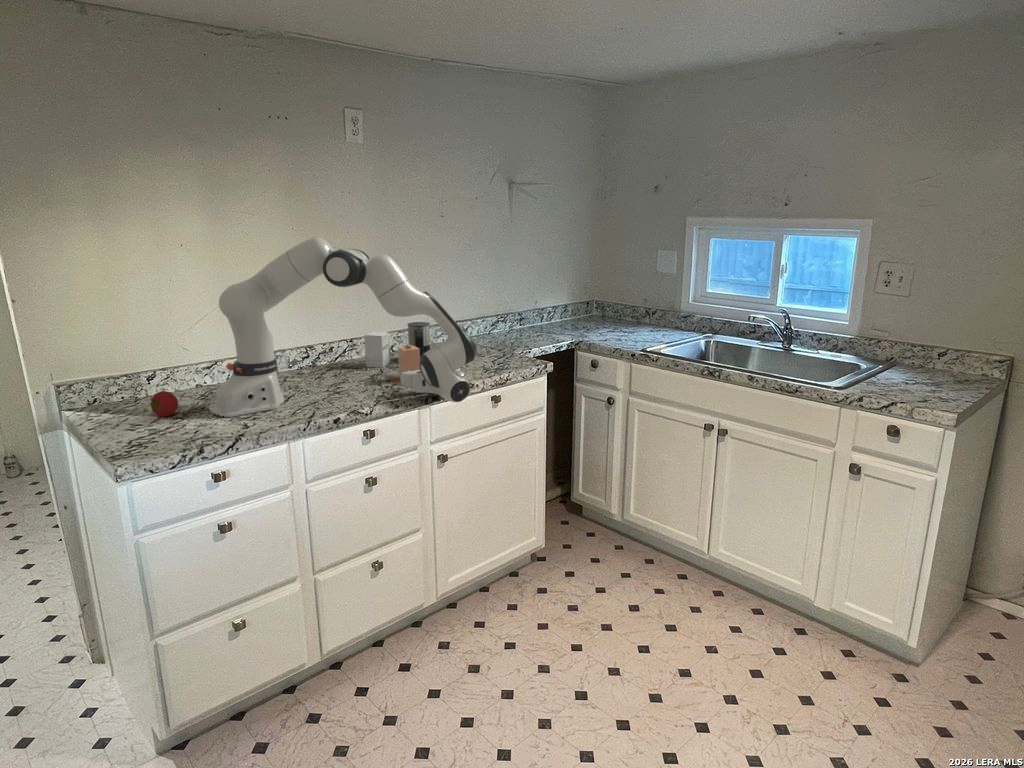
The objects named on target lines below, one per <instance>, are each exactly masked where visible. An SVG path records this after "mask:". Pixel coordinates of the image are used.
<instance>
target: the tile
mask: <svg viewBox="0 0 1024 768" xmlns="http://www.w3.org/2000/svg"><path fill="white" fill-rule="evenodd" d="M384 377H385V378H387V379H388V380H390V381H391V382H393V383H395V384H396V385H398V386H404V385H403V384H402V383H401V379H400V376H399V373H396V374H390V375H384Z"/></svg>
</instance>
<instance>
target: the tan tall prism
mask: <svg viewBox="0 0 1024 768" xmlns="http://www.w3.org/2000/svg"><path fill="white" fill-rule="evenodd" d="M397 353H398V371H399V372H398V374H399V376H400V374H401V373H402V372H407V370H413V371H414V370H420V367H419V366H420V349H419V348H417V347H415V346H412V345H409V344H406V345H405V346H399V347H397Z"/></svg>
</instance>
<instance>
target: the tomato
mask: <svg viewBox="0 0 1024 768" xmlns="http://www.w3.org/2000/svg"><path fill="white" fill-rule="evenodd" d="M150 399H151V400H150V403H149V405H150V408H151V411H152V412H153V413H154V415H156V417H161V418H168V417H170V415H171V416H173V415H174V414H175V413H176V411H177V410H178V409H179V401H178V398H177V397H176V395H175V394H174V393H172V392H170V391H165V390H162V391H161V390H160V391H159V392H156V393H154V395H153V396H151V397H150ZM167 416H168V417H167Z"/></svg>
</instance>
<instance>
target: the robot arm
mask: <svg viewBox="0 0 1024 768" xmlns="http://www.w3.org/2000/svg"><path fill="white" fill-rule="evenodd" d="M322 275H323V276H324V279H326V281H328V282H329V283H330V284H331V285H333V286H335V287H338V288H348V287H354V286H357V285H360V284H364V285H367V286H368V287H369V288H370V290H371V292H373V294H374V296H375V297H376V299H377V300H378V302H379V305H381V306H382V308H383V309H384V311H386V312H387V313H388V314H389V315H391V316H394V317H400V318H402V317H403V318H404V317H405V318H406V317H411V316H416V315H417V316H418V315H426V316H428V317H430V318H432V319H433V320H434V322H435V323H436V324H437V325H438V326H439V327H440V328H441V329H442V330H443V332H444V333H445V334H446V335H447V339H445V340H444V341H442V342H441V343H439V344H437V345H436V346H433V347H432V348H430V350H429V351H427V352H425V353H424V354H422V356H421V358H420V366H419V367H420V370H414V371H413V370H407V372H402V373H401V374H400V379H401V383H402V384H403V385H402V386H404V387H406V388H408V389H411V390H413V392H414V393H416V394H418V393H422V394H423V393H424V394H426V393H428V394H434V395H437V396H439V397H440V398H442V399H444V400H446V401H448V402H450V403H461V402H462V401H464V400H465V399H466V398H467V397H468V396H469V394H470V393H471V392H470V391H471V385H470V384H469V383H470V382H469V381H467V380H466V379H465V378H464V377H466V373H465V372H463V371H461V367H463V366H466V365H469V364H470V363H471V362H474V361H475V358H476V355H477V352H478V351H477V350H478V348H477V345H476V343H475V341H474V339H473V338H471V336H470V335H468V333H467V332H466V331H464V329H462V328H461V327H460V325H459V323H457V322H456V321H455V320H454V318H453V317H452V316H451V315H450V313H448V311H447V310H446V309H445V308H444V307H443V305H441V303H440V302H439V301H438V300H437V299H436V298H435V297H434V296H433V295H432V294H430V293H429V292H427V291H421V290H419V289H417V287H415V286H414V285H413V284H412V283H411V281H410V280H409V279H408V277H407V275H406V274H405V272H404V271H403V270H402V269H401V267H400V266H399V265H398V264H397V262H396V261H395V260H394V259H393V258H392V257H391V256H390V255H388V254H377V255H374V256H373V257H371V258H370V257H369V255H368V254H367V253H365V252H364V251H362V250H359V249H357V248H356V249H355V248H344V249H338V250H335V249H334V248H333V247H332V246H331V244H330V243H329V242H328V241H327V239H324V238H322V237H319V236H314V237H312V238H308V239H307V240H304V241H301V242H300V243H298V244H296V245H294V246H293V247H291V248H290V249H288V250H286V251H284V252H283V253H282V254H280V255H278V257H276V258H274V259H273V260H271V261H270V262H268V263H267V264H266V265H265V266H264V267H263V268H262V269H261V270H259V271H258V272H256V274H255V275H253V276H251V277H250V278H248V279H245V280H243V281H240V282H237V283H233V284H231V285H230V286H228V287H227V288H226V289H224V291H222V293H221V294H220V296H219V299H218V306H219V309H220V311H221V313H222V315H224V317H226V318H227V321H228V323H229V326H230V328H231V331H232V334H233V338H234V344H235V345H234V346H235V350H236V351H235V352H236V359H237V360H236V362H235V363H234V364H233V363H230V362H228V363H227V364H226V366H225V368H226V369H227V370H229V371H232V375H230V377H228V378H227V380H225V381H224V382H223V384H221V385H220V386H219V387H218V388H217V389H216V393H215V403H213V404H210V405H209V406H208V411H209V412H210V413H211V414H213V415H215V414H216V415H215V416H218V415H219V416H220V417H223V416H224V417H225V418H226V417H227V418H231V417H232V418H233V417H237V416H242V415H243V416H244V415H248V414H252V413H259V412H264V411H269V410H275V409H278V408H279V407H280V405H281V404H283V403H284V402H285V397H284V395H283V393H282V390H281V389H282V388H281V386H280V382H279V379H278V378H279V377H278V372H279V371H278V362H277V358H276V357H275V349H274V337H273V333H272V332H271V330H270V329H269V328H268V325H267V323H266V319H265V313H267V312H268V311H270V310H272V308H274V307H275V306H278V304H279V303H281V302H283V301H284V300H285V299H286V298H288V297H289V296H290V295H292V294H293V293H295V292H297V291H298V290H299V289H301V288H303V287H305V286H306V285H307V284H309V283H310V282H312V281H314V280H315V279H317V278H318V277H320V276H322Z"/></svg>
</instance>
